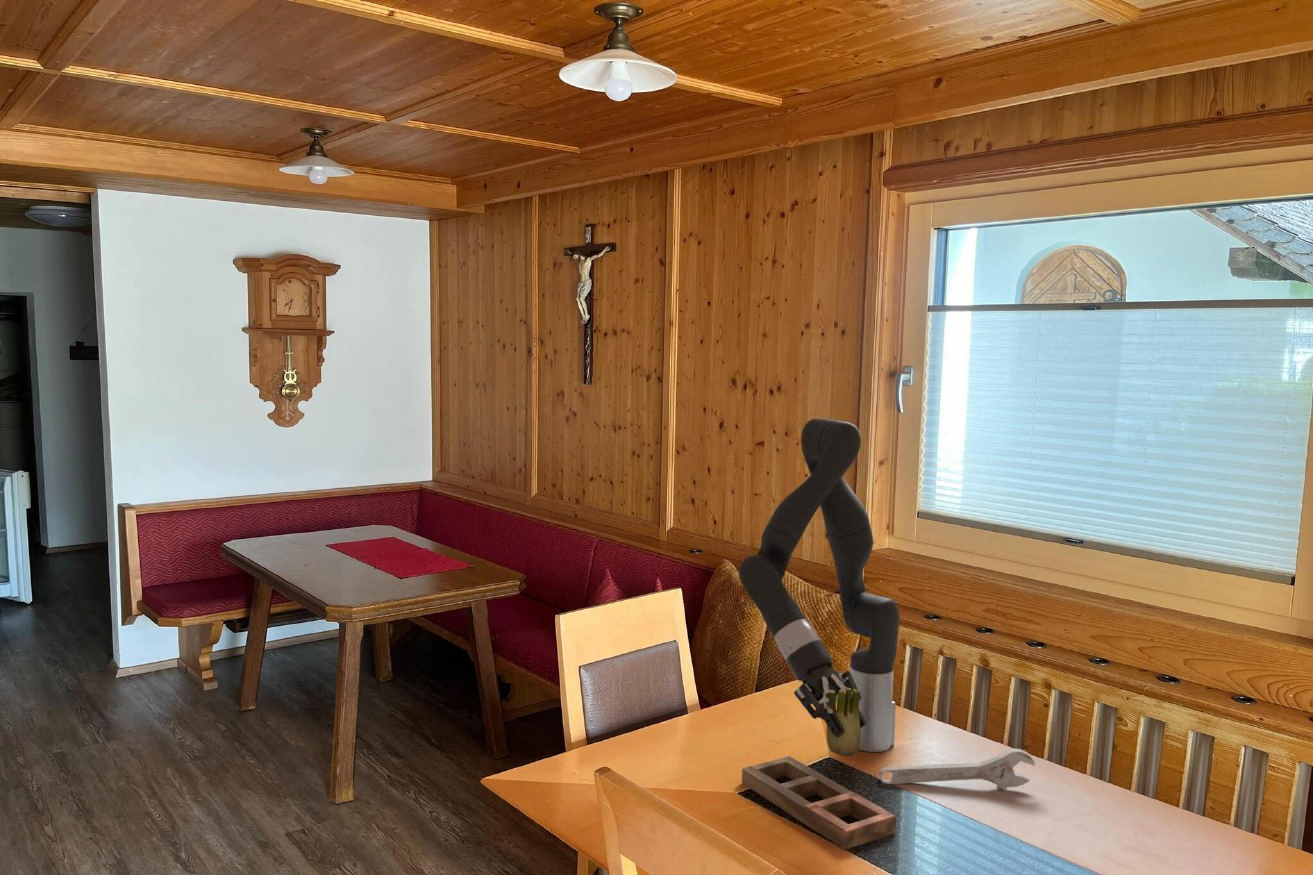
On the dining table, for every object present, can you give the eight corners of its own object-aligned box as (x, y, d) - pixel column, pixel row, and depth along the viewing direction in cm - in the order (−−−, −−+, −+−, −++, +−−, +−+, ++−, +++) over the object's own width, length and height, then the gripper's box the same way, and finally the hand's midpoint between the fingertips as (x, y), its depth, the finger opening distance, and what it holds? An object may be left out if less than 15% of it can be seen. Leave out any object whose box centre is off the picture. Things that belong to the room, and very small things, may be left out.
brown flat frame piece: (789, 770, 195) (789, 754, 194) (895, 833, 169) (896, 815, 169) (741, 782, 189) (742, 766, 188) (844, 850, 163) (845, 831, 163)
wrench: (880, 793, 191) (1034, 786, 187) (881, 797, 190) (1037, 791, 186) (877, 755, 191) (1031, 747, 187) (878, 758, 189) (1034, 751, 185)
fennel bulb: (824, 755, 170) (826, 690, 169) (829, 745, 174) (831, 682, 174) (857, 761, 168) (859, 695, 167) (861, 750, 172) (863, 686, 171)
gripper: (787, 645, 171) (838, 730, 162) (838, 632, 180) (889, 711, 172) (765, 667, 175) (813, 750, 167) (816, 652, 184) (864, 731, 176)
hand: (851, 730), depth 169 cm, fingers closed on fennel bulb, 5 cm apart
